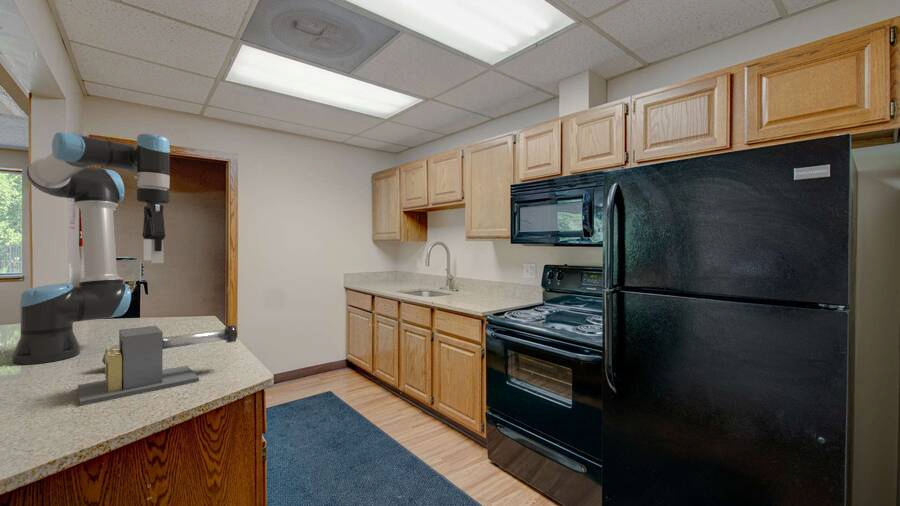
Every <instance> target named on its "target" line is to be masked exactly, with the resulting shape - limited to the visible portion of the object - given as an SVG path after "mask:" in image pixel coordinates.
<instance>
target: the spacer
mask: <svg viewBox="0 0 900 506" xmlns="http://www.w3.org/2000/svg"><path fill="white" fill-rule="evenodd" d="M109 348H110V349H109ZM109 348H106V349H105V351H104V352H105V353H104V354H105V364H104V366H105V368H104V369H105V371H104V372H105V374H104V375H105V376H104V380H105V383H106V386H107V390H108V393H109V392H114V391H120V390H122V355H121V353H120V351H119V349H118V348H111V347H109Z"/></svg>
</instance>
